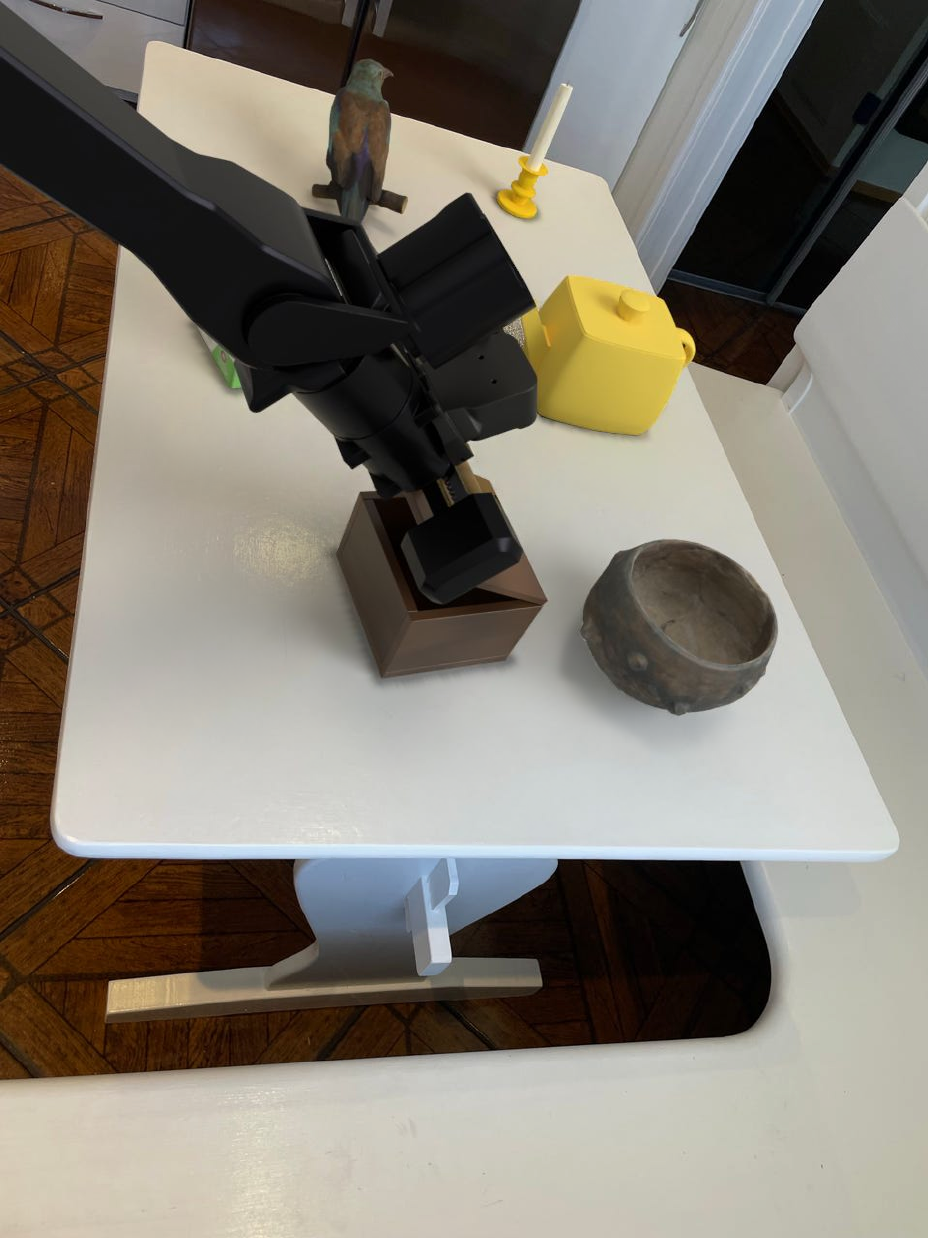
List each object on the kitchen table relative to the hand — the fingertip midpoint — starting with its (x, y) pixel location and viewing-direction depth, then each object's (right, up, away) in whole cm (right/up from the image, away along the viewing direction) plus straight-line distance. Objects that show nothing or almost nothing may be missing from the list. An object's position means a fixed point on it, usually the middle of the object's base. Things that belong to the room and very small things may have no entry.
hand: (470, 514), depth 64 cm
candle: (+6, +44, +51) cm, 68 cm away
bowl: (+14, -11, +13) cm, 22 cm away
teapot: (+11, +16, +33) cm, 38 cm away
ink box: (-21, +16, +18) cm, 32 cm away
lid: (0, -1, +1) cm, 1 cm away
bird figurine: (-13, +37, +37) cm, 54 cm away
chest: (-4, -6, +8) cm, 11 cm away
